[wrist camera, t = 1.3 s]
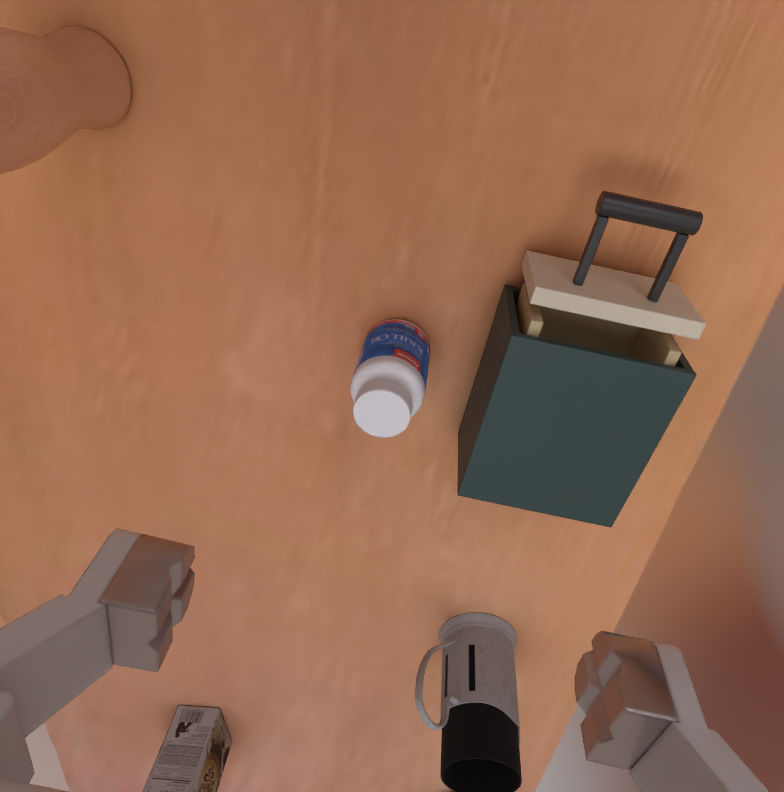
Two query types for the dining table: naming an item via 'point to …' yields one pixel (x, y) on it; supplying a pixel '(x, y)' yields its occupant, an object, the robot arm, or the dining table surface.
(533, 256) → the drawer
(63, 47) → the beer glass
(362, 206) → the dining table surface
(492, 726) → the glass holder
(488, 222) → the dining table surface
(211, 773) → the coffee box
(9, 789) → the robot arm
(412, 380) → the pill bottle
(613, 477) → the cabinet
